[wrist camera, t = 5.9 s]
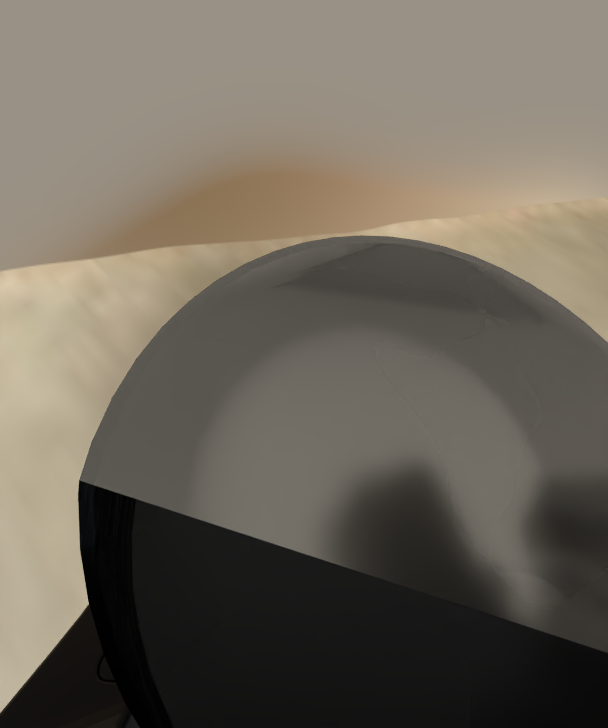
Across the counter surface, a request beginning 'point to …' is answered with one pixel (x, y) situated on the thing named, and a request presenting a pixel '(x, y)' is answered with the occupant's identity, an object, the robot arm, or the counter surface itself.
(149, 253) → the counter surface
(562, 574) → the grey cylindrical piece
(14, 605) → the counter surface
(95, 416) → the counter surface
